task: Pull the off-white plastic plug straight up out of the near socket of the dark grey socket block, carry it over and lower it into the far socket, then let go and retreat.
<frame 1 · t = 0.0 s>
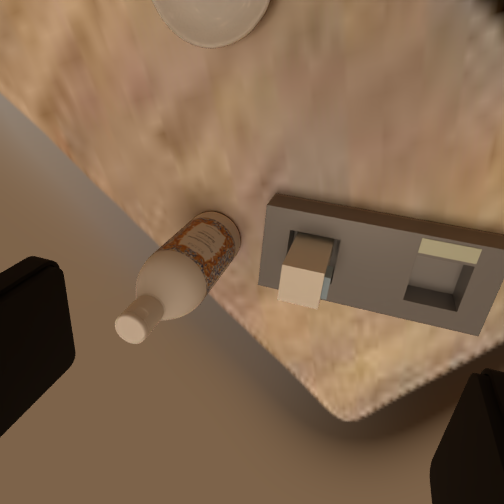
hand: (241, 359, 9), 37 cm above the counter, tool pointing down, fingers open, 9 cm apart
plug: (315, 244, 47), resting on socket block
socket block: (373, 253, 46), on the counter
bath foam: (216, 235, 52), on the counter
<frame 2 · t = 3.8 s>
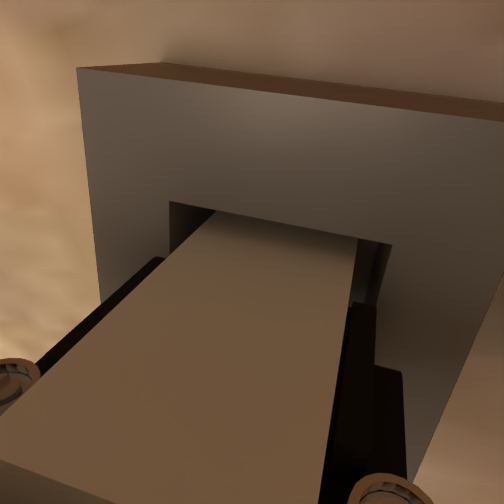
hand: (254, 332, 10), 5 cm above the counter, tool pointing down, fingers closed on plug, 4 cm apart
plug: (289, 257, 14), point 1 cm above the counter, touching gripper, socket block
socket block: (272, 386, 17), on the counter
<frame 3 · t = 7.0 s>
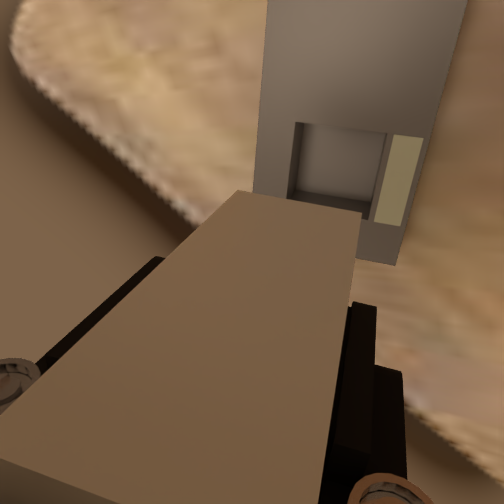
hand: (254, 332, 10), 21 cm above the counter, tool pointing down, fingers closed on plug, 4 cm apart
plug: (289, 256, 14), point 17 cm above the counter, touching gripper
socket block: (357, 54, 26), on the counter
when the fingers open (6 cm above the counter, at t = 10.0 s): plug stays where it is, resting on socket block.
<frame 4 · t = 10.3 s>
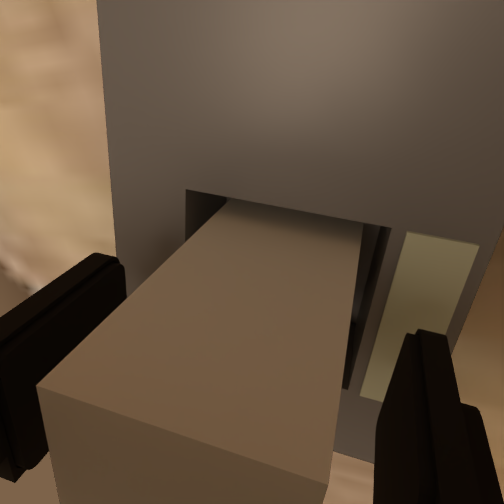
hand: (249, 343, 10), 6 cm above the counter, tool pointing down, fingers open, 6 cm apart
plug: (296, 244, 15), resting on socket block
socket block: (328, 42, 12), on the counter
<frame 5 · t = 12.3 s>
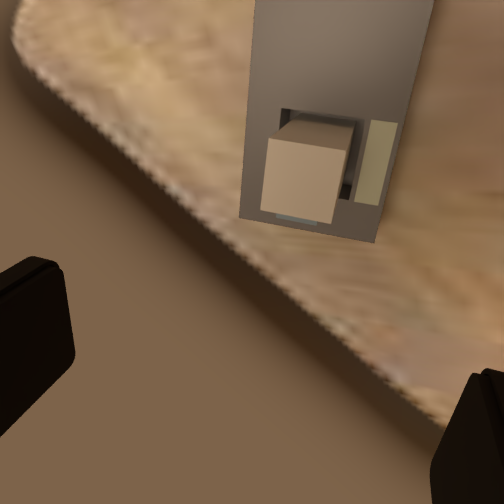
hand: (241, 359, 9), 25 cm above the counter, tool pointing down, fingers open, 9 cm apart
plug: (323, 144, 30), resting on socket block
socket block: (338, 47, 28), on the counter
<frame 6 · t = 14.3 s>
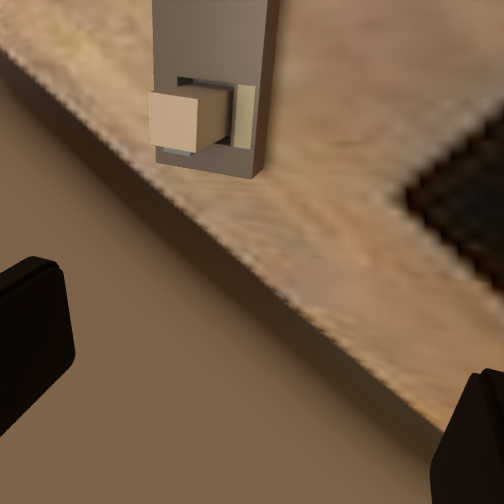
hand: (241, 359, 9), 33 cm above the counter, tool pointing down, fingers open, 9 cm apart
plug: (218, 107, 40), resting on socket block
socket block: (223, 32, 38), on the counter
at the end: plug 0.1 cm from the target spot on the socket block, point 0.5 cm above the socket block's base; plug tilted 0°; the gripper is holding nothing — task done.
